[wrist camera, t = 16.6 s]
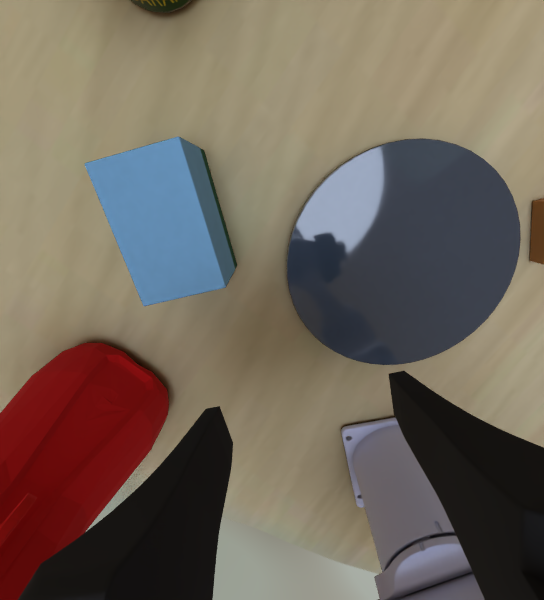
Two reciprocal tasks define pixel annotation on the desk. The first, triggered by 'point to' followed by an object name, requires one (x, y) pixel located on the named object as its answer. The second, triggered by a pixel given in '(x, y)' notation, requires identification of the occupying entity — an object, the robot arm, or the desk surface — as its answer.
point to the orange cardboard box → (537, 232)
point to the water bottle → (70, 451)
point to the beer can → (161, 5)
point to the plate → (403, 251)
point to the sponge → (165, 219)
